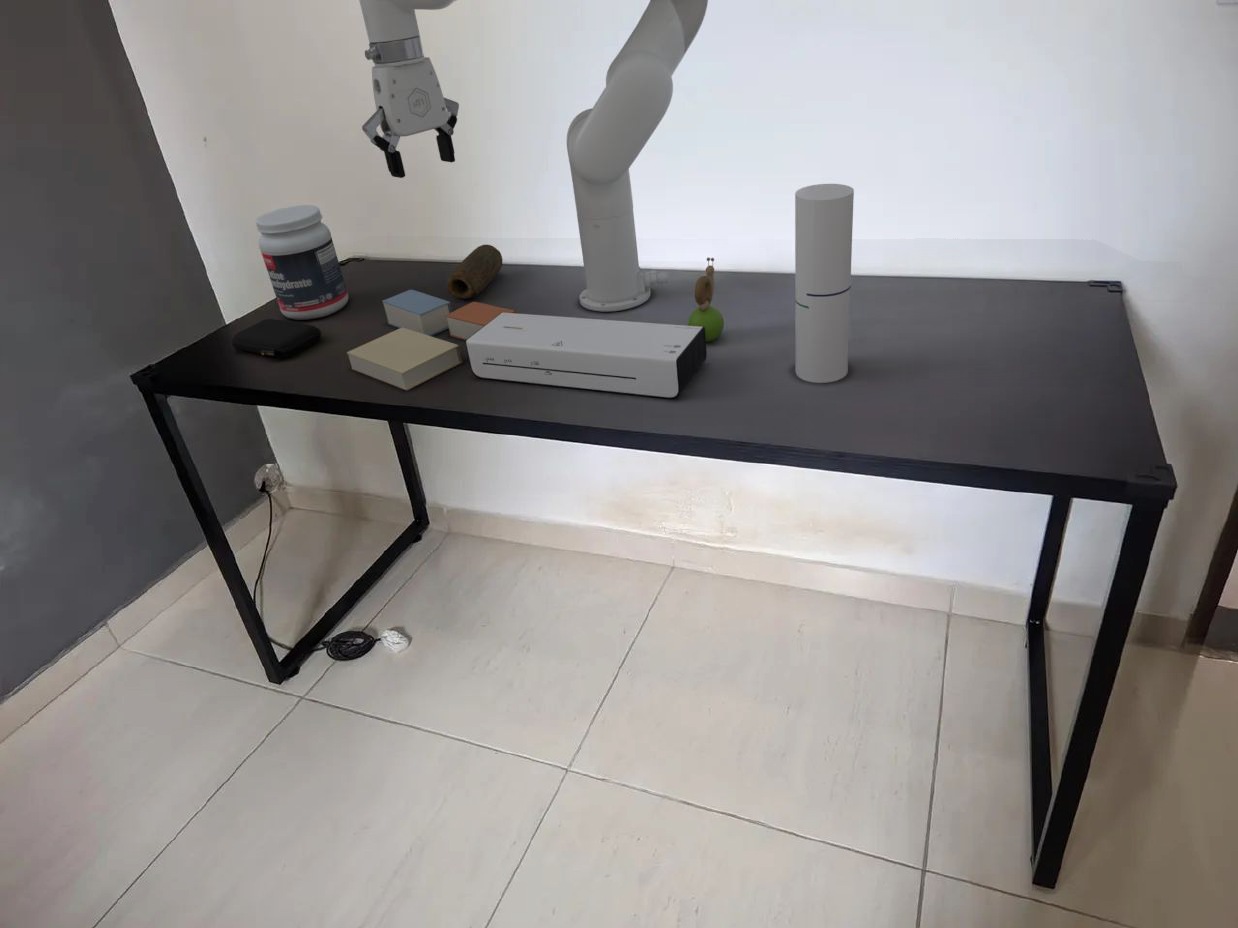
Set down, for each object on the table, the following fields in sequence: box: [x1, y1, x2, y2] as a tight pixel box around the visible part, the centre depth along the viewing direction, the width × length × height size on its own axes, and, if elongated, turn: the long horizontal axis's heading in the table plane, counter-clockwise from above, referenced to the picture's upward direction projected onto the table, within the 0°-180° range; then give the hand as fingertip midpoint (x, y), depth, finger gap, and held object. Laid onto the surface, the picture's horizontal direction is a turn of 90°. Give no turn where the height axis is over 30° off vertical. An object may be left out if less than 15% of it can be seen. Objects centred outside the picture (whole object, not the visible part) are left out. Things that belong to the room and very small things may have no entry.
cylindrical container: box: [794, 183, 855, 384], centre depth 115 cm, size 7×7×25 cm
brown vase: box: [446, 244, 503, 300], centre depth 164 cm, size 15×7×7 cm, turn 168°
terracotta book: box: [445, 301, 516, 341], centre depth 146 cm, size 10×7×4 cm, turn 51°
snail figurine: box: [687, 257, 725, 343], centre depth 132 cm, size 5×6×12 cm
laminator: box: [464, 312, 708, 400], centre depth 129 cm, size 34×12×6 cm, turn 66°
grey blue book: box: [381, 289, 453, 337], centre depth 152 cm, size 12×6×4 cm, turn 45°
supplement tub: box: [255, 204, 349, 321], centre depth 161 cm, size 13×13×18 cm
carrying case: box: [231, 318, 322, 358], centre depth 151 cm, size 11×3×15 cm
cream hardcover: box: [346, 327, 463, 391], centre depth 138 cm, size 15×11×3 cm
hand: (423, 169), depth 139 cm, fingers open, 9 cm apart
